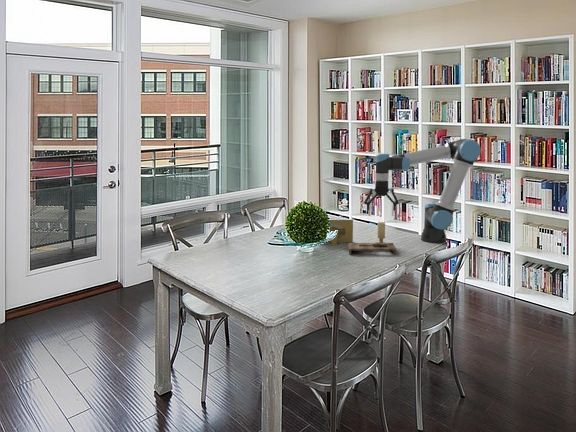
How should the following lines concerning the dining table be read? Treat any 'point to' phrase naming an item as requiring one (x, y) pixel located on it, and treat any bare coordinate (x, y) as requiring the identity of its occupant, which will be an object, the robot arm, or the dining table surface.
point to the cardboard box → (342, 230)
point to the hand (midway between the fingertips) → (380, 215)
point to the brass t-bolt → (381, 232)
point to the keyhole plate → (371, 246)
